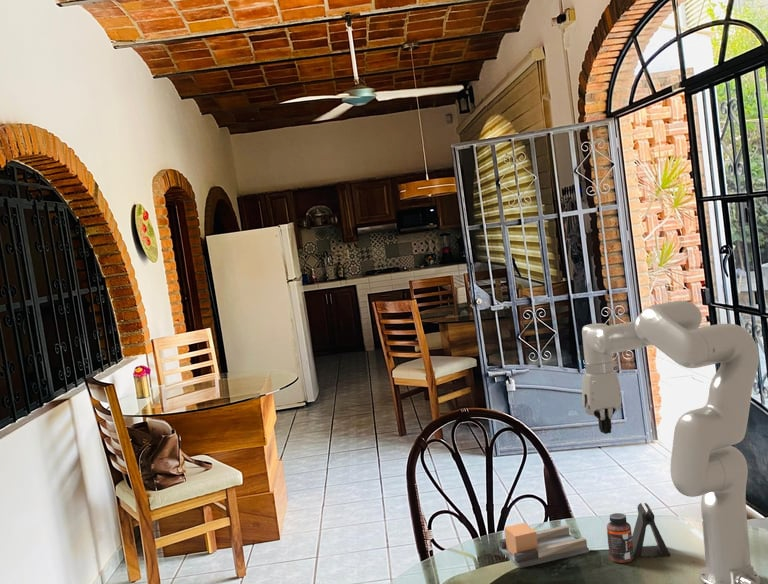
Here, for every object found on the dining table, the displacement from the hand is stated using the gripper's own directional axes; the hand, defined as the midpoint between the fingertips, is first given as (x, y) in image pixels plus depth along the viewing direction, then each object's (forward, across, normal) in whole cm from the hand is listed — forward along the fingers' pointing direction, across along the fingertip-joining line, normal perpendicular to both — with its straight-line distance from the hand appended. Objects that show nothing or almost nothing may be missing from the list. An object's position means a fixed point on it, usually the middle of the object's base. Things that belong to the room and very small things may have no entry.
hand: (605, 432), depth 207 cm
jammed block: (+26, +31, +5) cm, 40 cm away
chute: (+27, +25, +5) cm, 37 cm away
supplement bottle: (+27, +10, +19) cm, 35 cm away
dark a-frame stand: (+27, +2, +19) cm, 33 cm away
